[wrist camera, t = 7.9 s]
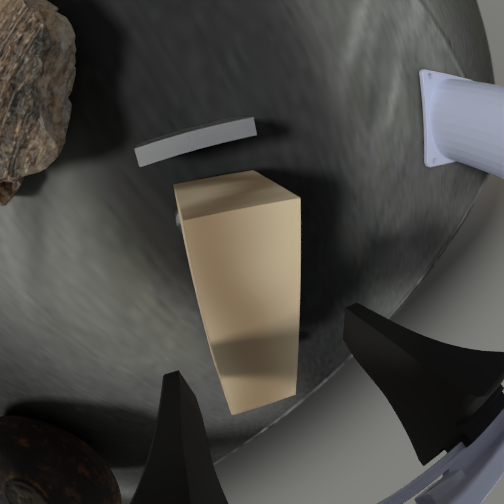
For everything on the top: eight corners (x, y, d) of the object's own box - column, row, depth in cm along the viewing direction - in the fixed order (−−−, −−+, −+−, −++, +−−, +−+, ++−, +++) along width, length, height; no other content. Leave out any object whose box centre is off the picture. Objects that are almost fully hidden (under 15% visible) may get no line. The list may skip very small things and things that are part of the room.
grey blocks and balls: (234, 117, 13) (253, 117, 11) (277, 342, 22) (293, 369, 19) (139, 142, 12) (134, 148, 10) (219, 364, 21) (229, 393, 18)
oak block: (253, 170, 14) (300, 197, 10) (266, 341, 20) (295, 394, 15) (173, 184, 13) (183, 220, 9) (212, 356, 19) (232, 415, 14)
